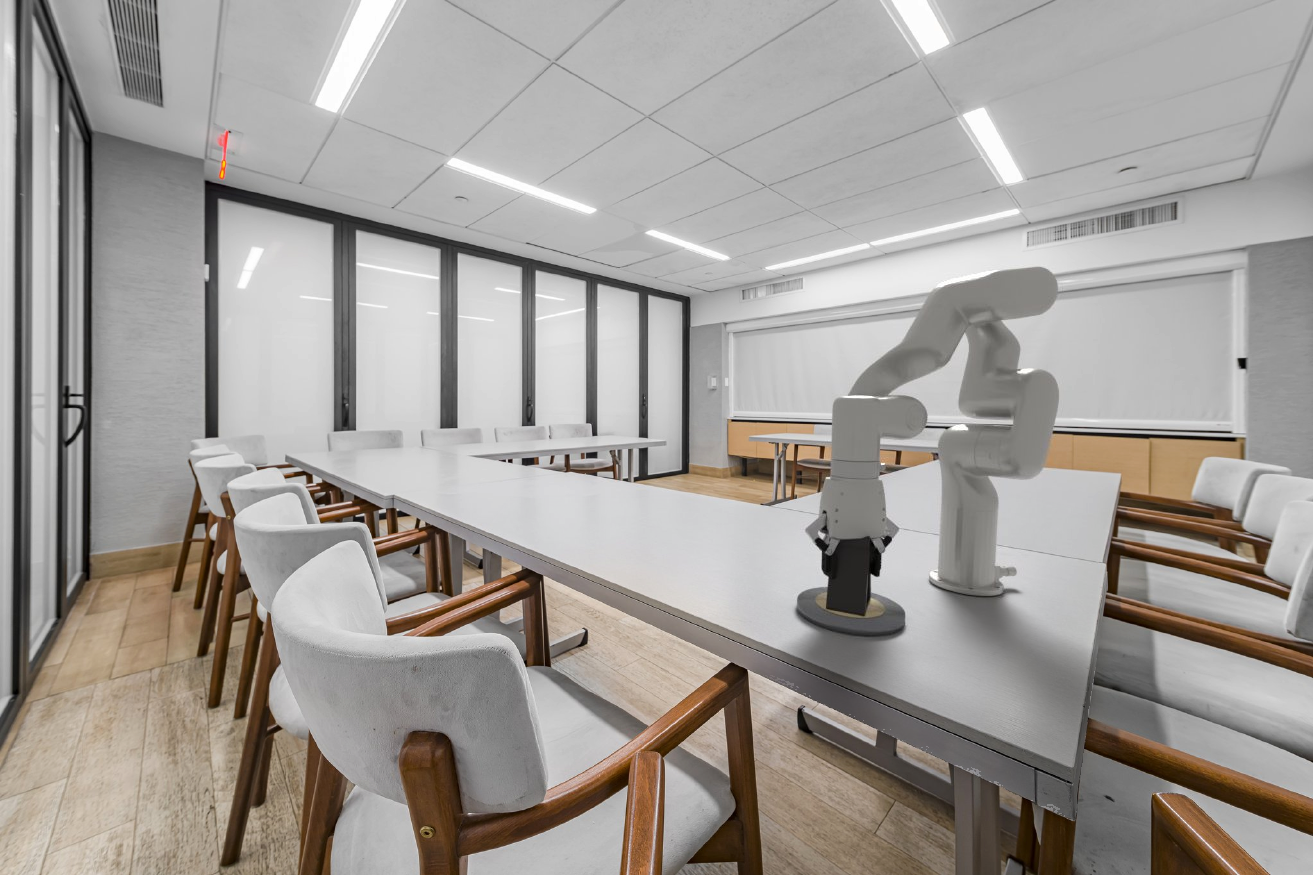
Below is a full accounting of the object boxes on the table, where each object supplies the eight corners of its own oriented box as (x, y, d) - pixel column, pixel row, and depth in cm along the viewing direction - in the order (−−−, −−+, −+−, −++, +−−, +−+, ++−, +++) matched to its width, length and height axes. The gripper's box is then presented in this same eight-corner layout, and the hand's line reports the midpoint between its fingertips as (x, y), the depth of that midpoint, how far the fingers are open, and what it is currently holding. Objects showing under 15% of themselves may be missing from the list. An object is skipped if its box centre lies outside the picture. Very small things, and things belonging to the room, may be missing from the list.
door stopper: (835, 591, 91) (837, 525, 90) (871, 597, 88) (873, 529, 87) (825, 609, 83) (827, 537, 82) (864, 616, 80) (867, 542, 79)
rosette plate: (867, 592, 95) (868, 583, 95) (928, 633, 79) (929, 622, 78) (781, 596, 93) (781, 587, 93) (825, 639, 76) (825, 628, 76)
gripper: (889, 467, 89) (885, 566, 90) (795, 468, 87) (792, 570, 88) (917, 472, 82) (912, 580, 83) (815, 474, 79) (812, 585, 80)
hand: (851, 574), depth 85 cm, fingers open, 7 cm apart
